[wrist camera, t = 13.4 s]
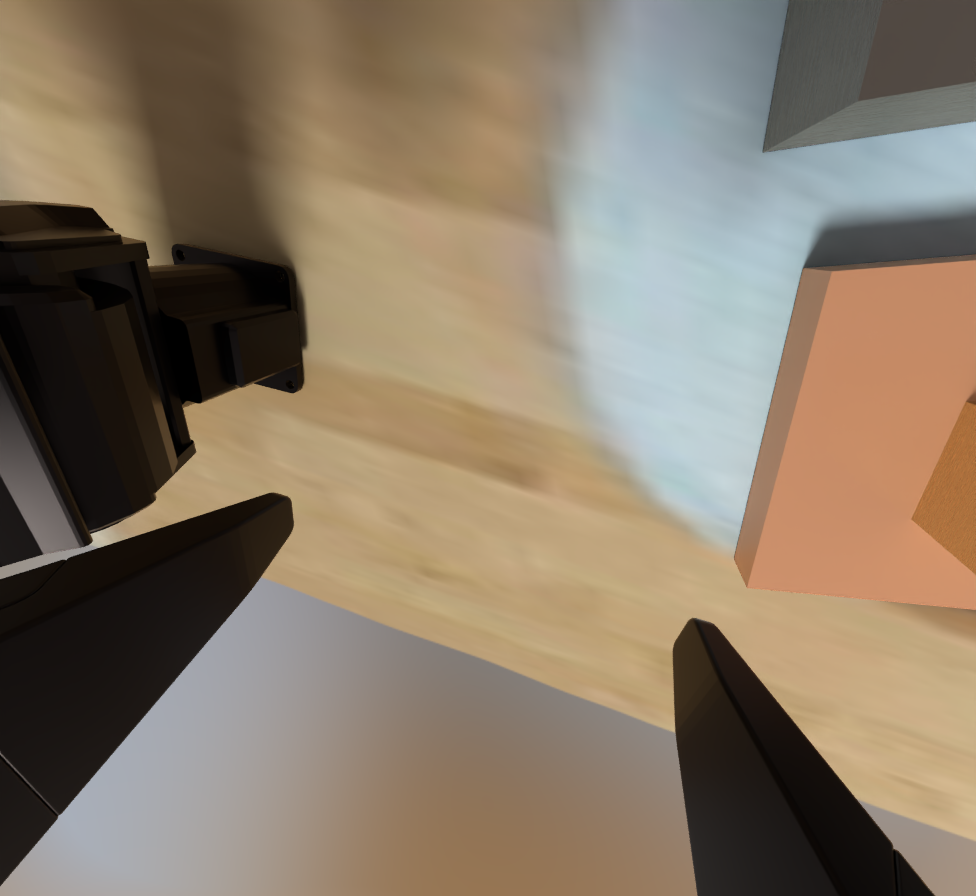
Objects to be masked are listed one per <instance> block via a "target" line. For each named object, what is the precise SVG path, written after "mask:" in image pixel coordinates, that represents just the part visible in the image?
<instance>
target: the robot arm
mask: <svg viewBox="0 0 976 896" xmlns="http://www.w3.org/2000/svg"><path fill="white" fill-rule="evenodd" d="M183 253H184V255H185V257H184V255H183ZM172 256H173V261H174V265H162V266H148V264H147V259H149V254H148V250H147V246H146V242H145V241H140V240H136V239H131V238H127V237H122V236H121V235H120V234H118V233H115V232H114V230H113V228H110V227H109V226H108V225H107V224H106V223H105V222H104V221H103V219H102V218H101V217H100V216H99V215H98V214H97V213H96V211H95V210H94V209H93V208H90V207H85V206H80V205H71V204H58V203H45V202H31V201H9V200H0V567H2V566H6V565H9V564H12V563H16V562H19V561H23V560H26V559H29V558H33V557H36V556H40V555H43V554H48V553H54V552H59V551H65V550H70V549H76V548H81V547H85V546H87V545H89V544H91V543H92V541H93V539H92V537H91V535H90V534H91V533H94V532H98V531H101V530H103V529H106V528H108V527H110V526H113V525H115V524H117V523H119V522H121V521H123V520H124V519H126V518H128V517H131V516H133V515H134V514H136V513H138V512H140V511H141V510H143V509H145V508H146V507H148V506H150V505H151V504H152V503H153V502H154V501H155V500H156V495H155V493H156V492H157V491H158V490H159V489H160V488H161V487H162V486H163V485H164V484H165V483H166V482H167V481H168V480H169V479H170V478H171V477H172V476H173V475H174V474H175V473H176V472H177V471H178V470H179V469H180V468H181V467H182V466H183V465H184V464H185V463H186V462H187V461H188V460H189V459H190V458H191V457H192V456H193V455H194V454H195V453H196V449H195V444H194V441H193V440H191V439H190V435H189V431H188V427H187V423H186V418H185V414H184V410H183V408H184V407H187V406H189V405H192V404H194V403H203V402H205V401H208V400H210V399H212V398H215V397H217V396H220V395H222V394H225V393H227V392H230V391H232V390H235V389H237V388H240V387H241V388H242V387H246V386H248V385H251V384H253V383H254V384H258V385H261V386H265V387H269V388H273V389H277V390H281V391H285V392H289V393H295V392H297V391H299V390H301V389H302V386H303V382H302V369H301V351H300V338H299V325H298V316H297V304H296V291H295V278H294V274H293V272H292V270H291V269H290V268H289V267H287V266H285V265H281V264H277V263H272V262H267V261H263V260H258V259H253V258H249V257H244V256H239V255H234V254H230V253H225V252H220V251H216V250H211V249H206V248H202V247H197V246H192V245H188V244H175V245H173V247H172ZM281 272H282V274H283V275H284V281H283V280H282V278H281ZM290 381H292V382H293V384H294V386H293V385H292V384H291V382H290ZM293 526H294V520H293V510H292V502H291V499H290V498H289V497H288V496H285V495H281V494H278V493H268V494H265V495H262V496H259V497H256V498H252V499H249V500H246V501H243V502H240V503H237V504H234V505H231V506H228V507H225V508H221V509H218V510H215V511H212V512H209V513H206V514H203V515H200V516H197V517H194V518H190V519H187V520H184V521H181V522H178V523H175V524H172V525H169V526H166V527H163V528H159V529H156V530H153V531H150V532H147V533H144V534H141V535H138V536H135V537H132V538H128V539H125V540H122V541H119V542H116V543H113V544H110V545H107V546H104V547H101V548H97V549H94V550H91V551H88V552H85V553H82V554H79V555H76V556H73V557H70V558H68V559H67V560H60V561H57V562H54V563H51V564H48V565H45V566H42V567H38V568H36V569H32V570H29V571H26V572H23V573H19V574H16V575H13V576H10V577H6V578H3V579H0V886H1V885H2V884H3V882H4V881H5V880H6V879H7V878H8V877H9V875H10V874H11V873H12V872H13V871H14V869H15V868H16V867H17V866H18V865H19V864H20V862H21V861H22V860H23V859H24V858H25V856H26V855H27V854H28V853H29V852H30V851H31V850H32V848H33V847H34V846H35V845H36V844H37V842H38V841H39V840H40V839H41V838H42V837H43V835H44V834H45V833H46V832H47V831H48V830H49V828H50V827H51V826H52V825H53V824H54V822H55V821H56V820H57V819H58V815H60V814H62V813H63V811H64V810H65V809H66V808H67V807H68V805H69V804H70V803H71V802H72V801H73V800H74V798H75V797H76V796H77V795H78V794H79V792H80V791H81V790H82V789H83V788H84V787H85V785H86V784H87V783H88V782H89V781H90V779H91V778H92V777H93V776H94V775H95V774H96V772H97V771H98V770H99V769H100V768H101V767H102V765H103V764H104V763H105V762H106V761H107V760H108V758H109V757H110V756H111V755H112V754H113V753H114V751H115V750H116V749H117V748H118V746H120V744H121V743H122V742H123V741H124V740H125V738H126V737H127V736H128V735H129V734H130V732H131V731H132V730H133V729H134V728H135V727H136V725H137V724H138V723H139V722H140V721H141V720H142V718H143V717H144V716H145V715H146V714H147V713H148V711H149V710H150V709H151V708H152V706H153V705H154V704H155V703H156V702H157V701H158V700H159V698H160V697H161V696H162V695H163V694H164V693H165V691H166V690H167V689H168V688H169V687H170V685H171V684H172V683H173V682H174V681H175V680H176V678H177V677H178V676H179V675H180V673H182V671H183V670H184V669H185V668H186V666H187V665H188V664H189V663H190V662H191V661H192V659H193V658H194V657H195V656H196V655H197V654H198V653H199V651H200V650H201V649H202V648H203V647H204V645H205V644H206V643H207V642H208V641H209V640H210V638H211V637H212V636H213V635H214V634H215V633H216V631H217V630H218V629H219V628H220V627H221V625H222V624H223V623H224V622H225V621H226V619H227V618H228V617H229V616H230V615H231V614H232V612H233V611H234V610H235V609H236V608H237V607H238V606H239V604H240V603H241V602H242V601H243V599H244V598H245V597H246V596H247V595H248V593H249V592H250V591H251V590H252V588H253V587H254V586H255V584H256V583H257V582H258V580H259V579H260V577H261V576H262V575H263V573H264V572H265V570H266V569H267V567H268V566H269V565H270V563H271V562H272V560H273V559H274V557H275V556H276V554H277V553H278V552H279V550H280V549H281V547H282V546H283V544H284V543H285V542H286V540H287V539H288V537H289V536H290V534H291V532H292V530H293ZM673 679H674V710H675V732H676V741H677V749H678V757H679V764H680V771H681V779H682V786H683V793H684V800H685V808H686V815H687V822H688V829H689V837H690V844H691V852H692V859H693V866H694V873H695V880H696V888H697V895H698V896H935V895H934V894H933V893H932V891H931V890H930V889H929V888H928V887H927V886H926V884H925V883H924V882H923V880H922V879H921V878H920V877H919V875H918V874H917V873H916V872H915V871H914V869H913V868H912V867H911V866H910V864H909V863H908V862H907V861H906V859H905V858H904V857H903V856H902V854H901V853H900V852H899V851H897V850H895V849H893V844H892V842H891V841H890V840H889V839H888V837H887V836H886V835H885V834H884V833H883V831H882V830H881V829H880V828H879V826H878V825H877V824H876V823H875V821H874V820H873V819H872V818H871V816H870V815H869V814H868V813H867V812H866V810H865V809H864V808H863V807H862V805H861V804H860V803H859V802H858V800H857V799H856V798H855V797H854V795H853V794H852V793H851V792H850V791H849V789H848V788H847V787H846V786H845V784H844V783H843V782H842V781H841V779H840V778H839V777H838V776H837V775H836V773H835V772H834V771H833V770H832V768H831V767H830V766H829V765H828V763H827V762H826V761H825V760H824V758H823V757H822V756H821V755H820V754H819V752H818V751H817V750H816V749H815V747H814V746H813V745H812V744H811V742H810V741H809V740H808V739H807V737H806V736H805V735H804V734H803V733H802V731H801V730H800V729H799V728H798V726H797V725H796V724H795V723H794V721H793V720H792V719H791V718H790V716H789V715H788V714H787V713H786V712H785V710H784V709H783V708H782V707H781V705H780V704H779V703H778V702H777V700H776V699H775V698H774V697H773V696H772V694H771V693H770V692H769V691H768V689H767V688H766V687H765V686H764V684H763V683H762V682H761V681H760V679H759V678H758V677H757V676H756V675H755V673H754V672H753V671H752V670H751V668H750V667H749V666H748V665H747V663H746V662H745V661H744V660H743V658H742V657H741V656H740V655H739V654H738V652H737V651H736V650H735V649H734V647H733V646H732V645H731V644H730V642H729V641H728V640H727V639H726V638H725V636H724V635H723V634H722V633H721V631H720V630H719V629H718V628H717V627H716V626H715V625H714V624H713V623H710V622H707V621H704V620H700V619H697V618H691V619H690V620H689V621H688V622H687V624H686V625H685V627H684V628H683V630H682V631H681V633H680V635H679V636H678V638H677V639H676V641H675V643H674V647H673Z"/></svg>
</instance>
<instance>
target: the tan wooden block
mask: <svg viewBox="0 0 976 896" xmlns="http://www.w3.org/2000/svg"><path fill="white" fill-rule="evenodd" d="M911 520H912V521H914V522H915V523H916V524H917V525H918V526H919V527H921V528H922V529H923V530H924V531H925V532H926V533H928V534H929V535H930V536H931V537H932V538H933V539H935V540H936V541H937V542H938V543H939V544H940V545H942V546H943V547H944V548H945V549H946V550H947V551H948V552H950V553H951V554H952V555H953V556H954V557H955V558H957V559H958V560H959V561H960V562H961V563H962V564H964V565H965V566H966V567H967V568H968V569H969V570H971V571H972V572H973V573H974V574H975V575H976V401H966V402H965V404H964V406H963V409H962V411H961V413H960V415H959V417H958V419H957V421H956V424H955V426H954V428H953V430H952V432H951V434H950V436H949V439H948V441H947V443H946V445H945V447H944V449H943V452H942V454H941V456H940V458H939V460H938V462H937V464H936V467H935V469H934V471H933V473H932V475H931V477H930V480H929V482H928V484H927V486H926V488H925V490H924V492H923V495H922V497H921V499H920V501H919V503H918V505H917V507H916V510H915V512H914V514H913V516H912V518H911Z"/></svg>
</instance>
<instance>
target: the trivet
mask: <svg viewBox="0 0 976 896" xmlns="http://www.w3.org/2000/svg"><path fill="white" fill-rule="evenodd" d="M966 401H976V254H973V255H960V256H948V257H936V258H923V259H911V260H899V261H886V262H874V263H862V264H849V265H837V266H825V267H812V268H803V271H802V275H801V279H800V283H799V288H798V292H797V296H796V300H795V305H794V309H793V313H792V317H791V321H790V326H789V330H788V334H787V338H786V342H785V347H784V351H783V355H782V359H781V363H780V368H779V372H778V376H777V380H776V384H775V389H774V393H773V397H772V401H771V406H770V410H769V414H768V418H767V422H766V427H765V431H764V435H763V439H762V443H761V448H760V452H759V456H758V460H757V464H756V469H755V473H754V477H753V481H752V485H751V490H750V494H749V498H748V502H747V507H746V511H745V515H744V519H743V523H742V528H741V532H740V536H739V540H738V544H737V549H736V553H735V557H734V560H735V562H736V565H737V567H738V569H739V571H740V573H741V576H742V578H743V580H744V582H745V585H746V587H747V588H754V589H764V590H775V591H785V592H796V593H806V594H817V595H827V596H838V597H848V598H859V599H869V600H879V601H890V602H900V603H911V604H921V605H932V606H942V607H953V608H963V609H974V610H976V575H975V574H974V573H973V572H972V571H971V570H969V569H968V568H967V567H966V566H965V565H964V564H962V563H961V562H960V561H959V560H958V559H957V558H955V557H954V556H953V555H952V554H951V553H950V552H948V551H947V550H946V549H945V548H944V547H943V546H942V545H940V544H939V543H938V542H937V541H936V540H935V539H933V538H932V537H931V536H930V535H929V534H928V533H926V532H925V531H924V530H923V529H922V528H921V527H919V526H918V525H917V524H916V523H915V522H914V521H912V520H911V518H912V516H913V514H914V512H915V510H916V507H917V505H918V503H919V501H920V499H921V497H922V495H923V492H924V490H925V488H926V486H927V484H928V482H929V480H930V477H931V475H932V473H933V471H934V469H935V467H936V464H937V462H938V460H939V458H940V456H941V454H942V452H943V449H944V447H945V445H946V443H947V441H948V439H949V436H950V434H951V432H952V430H953V428H954V426H955V424H956V421H957V419H958V417H959V415H960V413H961V411H962V409H963V406H964V404H965V402H966Z"/></svg>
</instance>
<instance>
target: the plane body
mask: <svg viewBox="0 0 976 896" xmlns="http://www.w3.org/2000/svg"><path fill="white" fill-rule="evenodd" d="M974 121H976V0H789V5H788V11H787V17H786V22H785V28H784V34H783V39H782V45H781V51H780V57H779V62H778V68H777V74H776V79H775V85H774V91H773V97H772V102H771V108H770V114H769V119H768V125H767V131H766V136H765V142H764V148H763V152H770V151H777V150H783V149H790V148H797V147H804V146H811V145H817V144H824V143H831V142H838V141H845V140H851V139H858V138H865V137H872V136H879V135H885V134H892V133H899V132H906V131H913V130H919V129H926V128H933V127H940V126H947V125H953V124H960V123H967V122H974Z"/></svg>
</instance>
